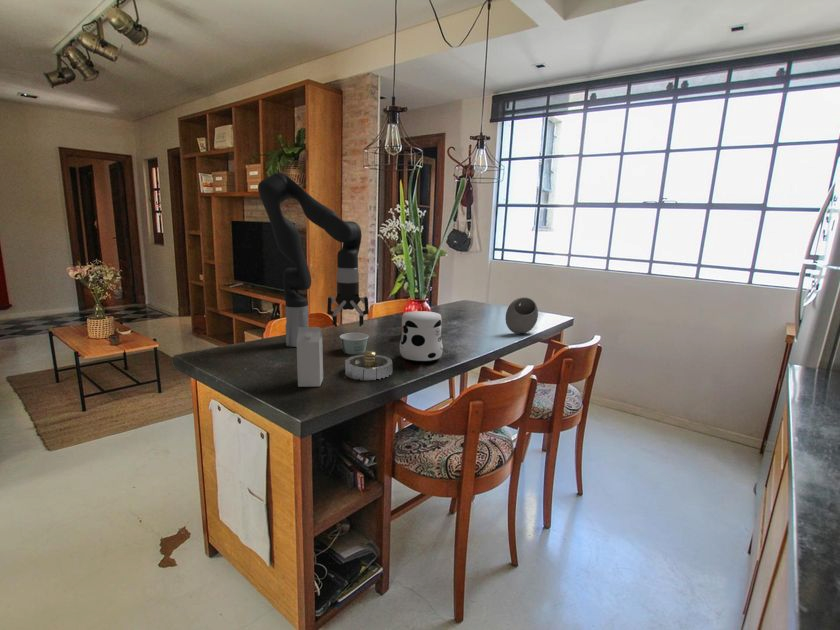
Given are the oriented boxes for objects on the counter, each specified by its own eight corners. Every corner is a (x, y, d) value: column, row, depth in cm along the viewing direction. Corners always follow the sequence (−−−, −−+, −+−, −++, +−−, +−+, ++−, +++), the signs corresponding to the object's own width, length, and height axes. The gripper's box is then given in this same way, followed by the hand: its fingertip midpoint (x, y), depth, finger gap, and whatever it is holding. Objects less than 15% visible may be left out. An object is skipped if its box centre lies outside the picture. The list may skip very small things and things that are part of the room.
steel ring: (345, 381, 145) (345, 369, 144) (345, 365, 161) (345, 355, 160) (394, 379, 147) (394, 368, 147) (389, 364, 163) (389, 354, 163)
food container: (352, 357, 171) (351, 341, 170) (333, 350, 179) (333, 335, 177) (374, 351, 180) (374, 336, 178) (356, 345, 188) (356, 331, 186)
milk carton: (301, 379, 145) (300, 324, 141) (323, 379, 146) (322, 324, 142) (297, 387, 138) (296, 329, 134) (320, 387, 139) (319, 330, 135)
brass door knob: (357, 376, 149) (357, 356, 147) (357, 368, 158) (356, 349, 156) (383, 376, 150) (383, 355, 149) (381, 367, 159) (381, 348, 158)
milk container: (451, 359, 171) (453, 315, 167) (420, 368, 159) (421, 321, 156) (421, 350, 183) (422, 308, 179) (390, 358, 171) (390, 314, 168)
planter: (508, 336, 210) (511, 299, 206) (500, 333, 216) (503, 296, 213) (540, 334, 216) (543, 297, 212) (531, 331, 223) (534, 295, 219)
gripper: (326, 282, 143) (327, 329, 146) (369, 282, 145) (369, 328, 149) (327, 278, 150) (327, 323, 153) (367, 279, 153) (367, 323, 156)
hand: (348, 326), depth 151 cm, fingers open, 8 cm apart
